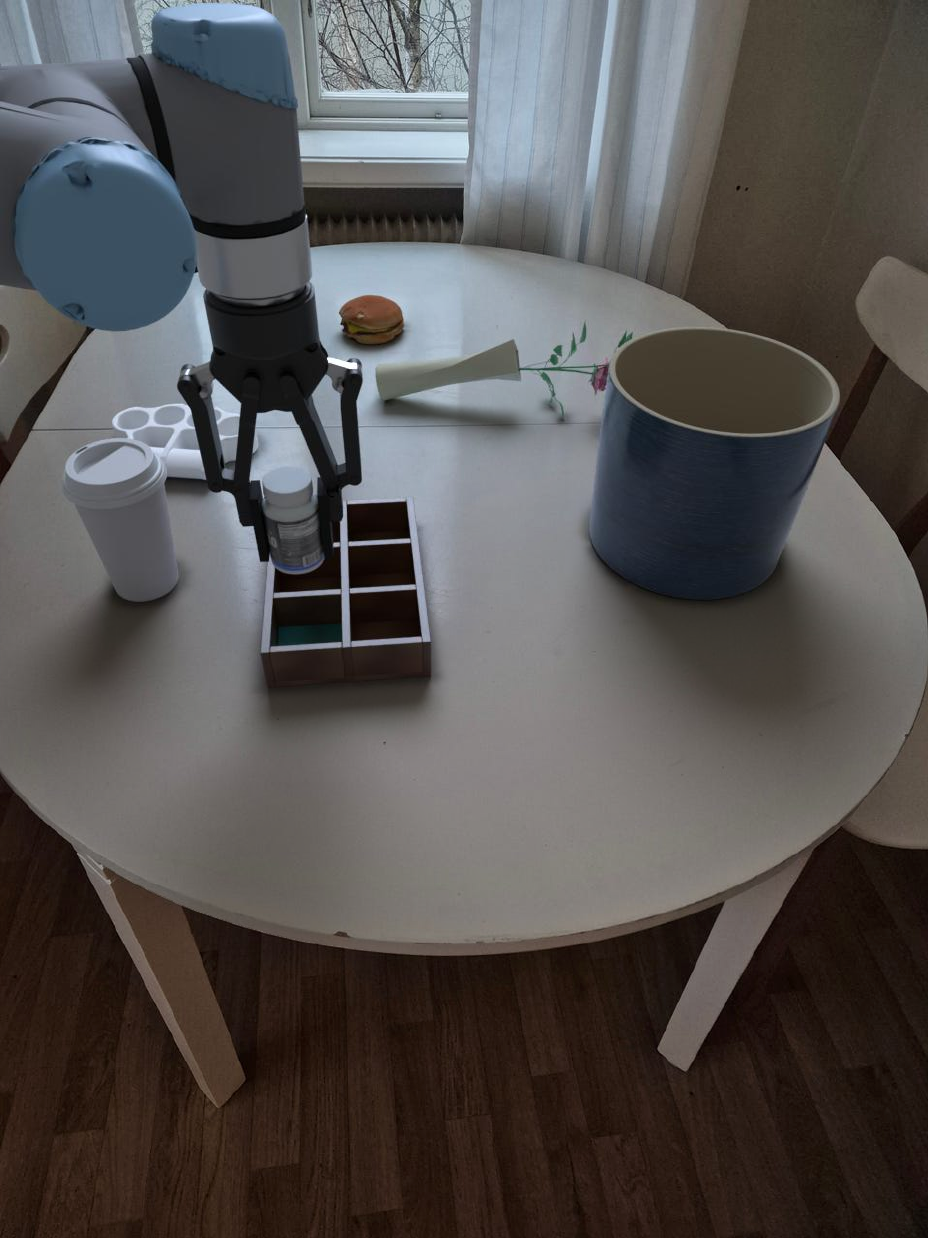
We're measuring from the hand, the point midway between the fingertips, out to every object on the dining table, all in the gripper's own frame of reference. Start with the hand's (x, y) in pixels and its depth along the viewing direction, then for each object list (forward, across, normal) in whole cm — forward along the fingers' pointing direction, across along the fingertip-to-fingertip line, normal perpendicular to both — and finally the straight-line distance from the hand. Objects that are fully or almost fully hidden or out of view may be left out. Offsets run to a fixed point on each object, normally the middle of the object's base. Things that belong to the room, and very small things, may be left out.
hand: (297, 549), depth 75 cm
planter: (+13, -42, -14) cm, 46 cm away
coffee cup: (+13, +18, -12) cm, 25 cm away
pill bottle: (+1, 0, 0) cm, 1 cm away
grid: (+13, -4, -7) cm, 15 cm away
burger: (+13, -8, -69) cm, 71 cm away
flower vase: (+13, -26, -46) cm, 54 cm away
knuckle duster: (+13, +16, -37) cm, 43 cm away
